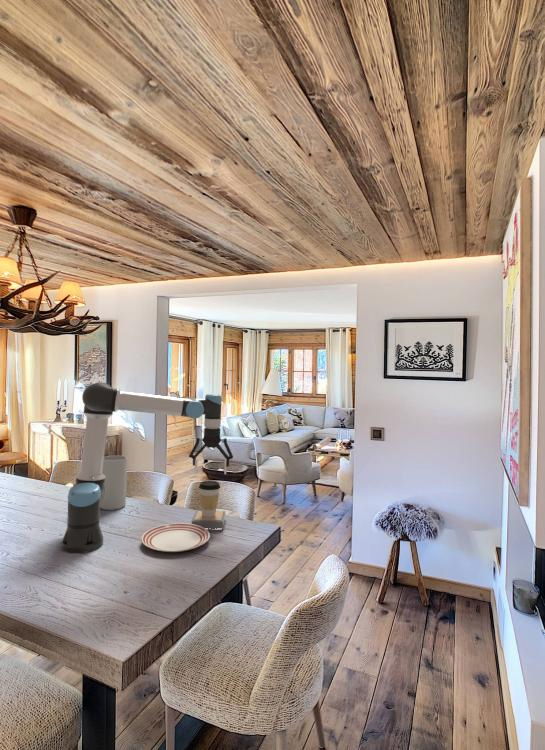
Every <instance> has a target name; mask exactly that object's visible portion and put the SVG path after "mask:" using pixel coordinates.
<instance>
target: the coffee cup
mask: <svg viewBox="0 0 545 750" xmlns="http://www.w3.org/2000/svg"><path fill="white" fill-rule="evenodd" d="M198 488H199V499H200V511H202V516H203V517H206V518H210V517H214V516H215V514H216V511H217V507H218V502H219V494H220V488H221V485H220V483H219V482H218V481H216V480H204V481H200V484H199V485H198Z"/></svg>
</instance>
